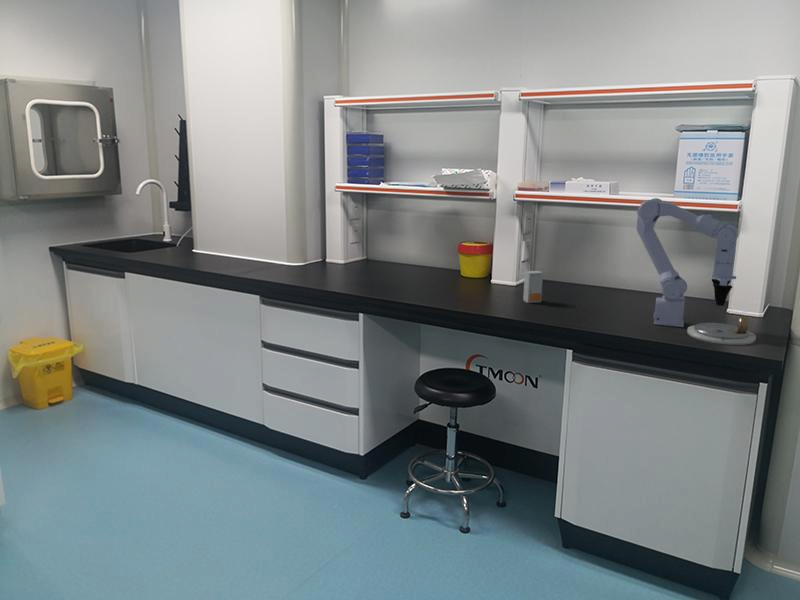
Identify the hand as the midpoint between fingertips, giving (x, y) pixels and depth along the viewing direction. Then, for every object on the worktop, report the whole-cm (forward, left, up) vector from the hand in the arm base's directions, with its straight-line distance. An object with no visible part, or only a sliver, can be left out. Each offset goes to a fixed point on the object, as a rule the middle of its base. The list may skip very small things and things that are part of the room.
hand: (719, 302), depth 214 cm
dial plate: (+1, -7, -9) cm, 12 cm away
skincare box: (-65, +17, -10) cm, 68 cm away
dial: (+1, -7, -8) cm, 11 cm away
